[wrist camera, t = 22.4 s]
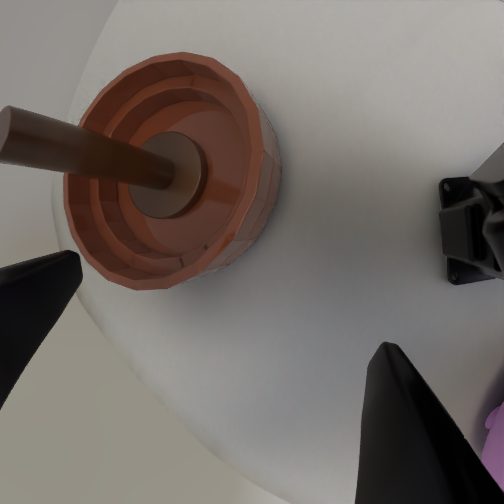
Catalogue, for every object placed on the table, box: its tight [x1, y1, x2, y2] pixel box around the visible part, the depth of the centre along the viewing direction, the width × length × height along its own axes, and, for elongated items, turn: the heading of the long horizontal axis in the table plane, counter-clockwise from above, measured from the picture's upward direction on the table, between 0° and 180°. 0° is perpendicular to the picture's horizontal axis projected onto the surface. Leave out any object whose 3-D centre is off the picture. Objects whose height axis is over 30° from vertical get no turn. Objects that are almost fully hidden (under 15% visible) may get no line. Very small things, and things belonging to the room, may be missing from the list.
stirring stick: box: [0, 106, 207, 219], centre depth 13 cm, size 6×6×13 cm
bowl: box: [63, 52, 281, 291], centre depth 17 cm, size 14×14×5 cm
